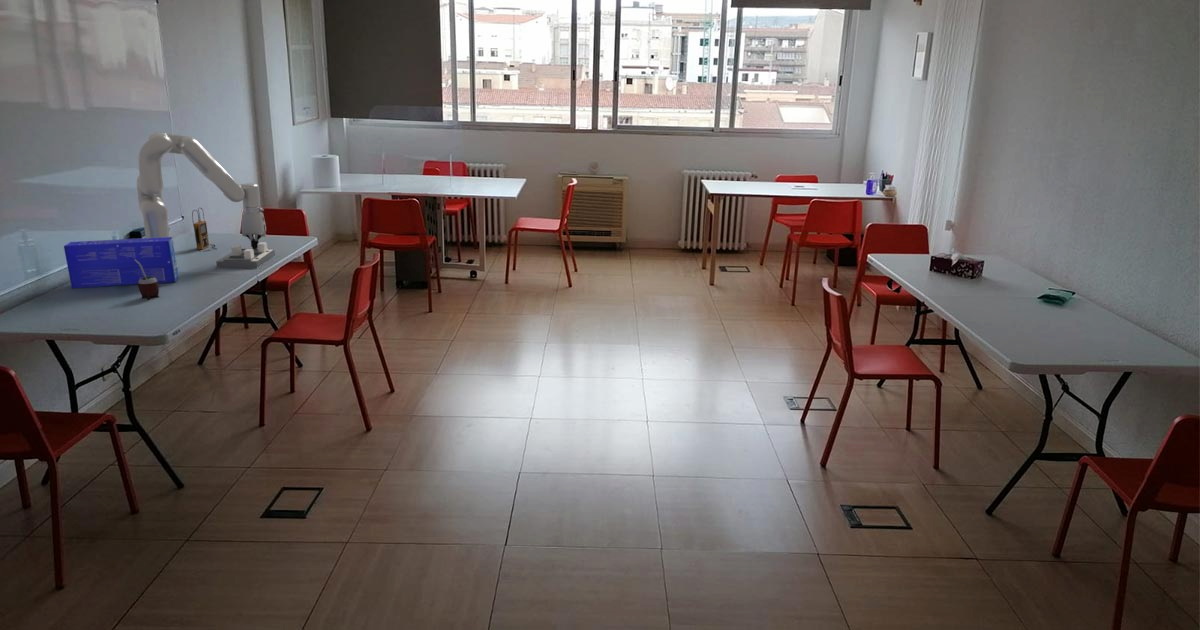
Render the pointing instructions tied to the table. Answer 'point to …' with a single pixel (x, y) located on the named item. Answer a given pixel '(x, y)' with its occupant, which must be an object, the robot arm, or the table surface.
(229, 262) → the switch bank
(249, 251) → the tab
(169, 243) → the toner cartridge box
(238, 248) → the tab middle
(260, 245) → the tab
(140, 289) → the mate gourd
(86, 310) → the table surface
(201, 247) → the multimeter
